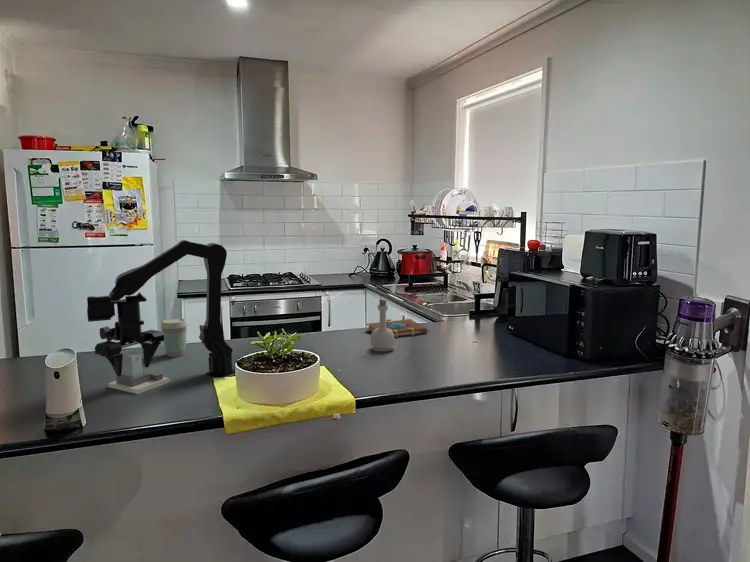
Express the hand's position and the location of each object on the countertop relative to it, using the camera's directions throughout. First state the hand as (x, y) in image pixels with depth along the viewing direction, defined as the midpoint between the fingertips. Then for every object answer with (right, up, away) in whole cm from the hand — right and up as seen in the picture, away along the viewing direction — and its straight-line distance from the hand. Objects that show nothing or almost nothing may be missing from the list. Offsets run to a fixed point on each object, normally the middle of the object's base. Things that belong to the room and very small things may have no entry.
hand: (133, 371), depth 152 cm
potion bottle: (+72, +1, +39) cm, 81 cm away
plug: (0, -3, +1) cm, 3 cm away
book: (+79, +5, +64) cm, 102 cm away
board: (+1, -4, +2) cm, 4 cm away
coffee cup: (0, 0, +32) cm, 32 cm away
